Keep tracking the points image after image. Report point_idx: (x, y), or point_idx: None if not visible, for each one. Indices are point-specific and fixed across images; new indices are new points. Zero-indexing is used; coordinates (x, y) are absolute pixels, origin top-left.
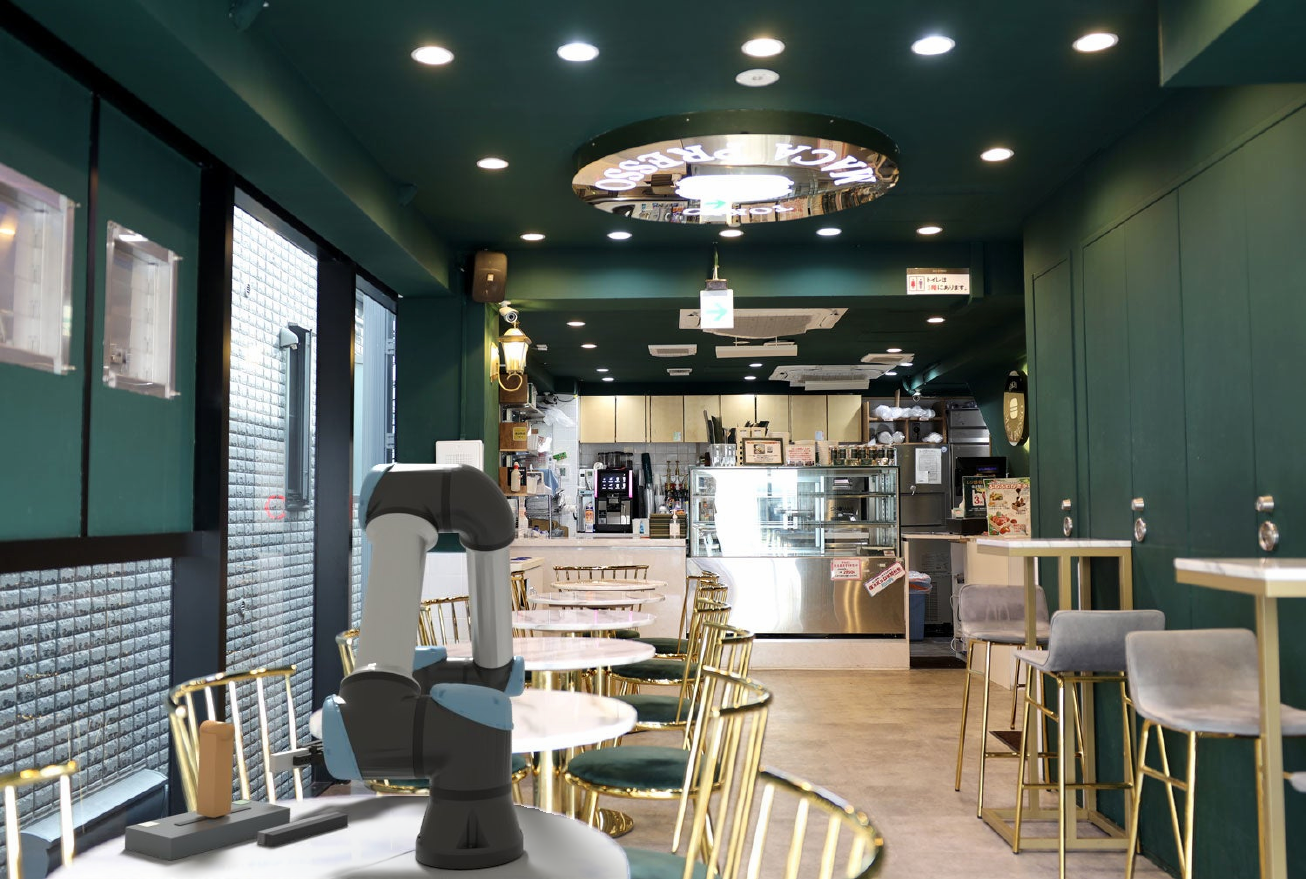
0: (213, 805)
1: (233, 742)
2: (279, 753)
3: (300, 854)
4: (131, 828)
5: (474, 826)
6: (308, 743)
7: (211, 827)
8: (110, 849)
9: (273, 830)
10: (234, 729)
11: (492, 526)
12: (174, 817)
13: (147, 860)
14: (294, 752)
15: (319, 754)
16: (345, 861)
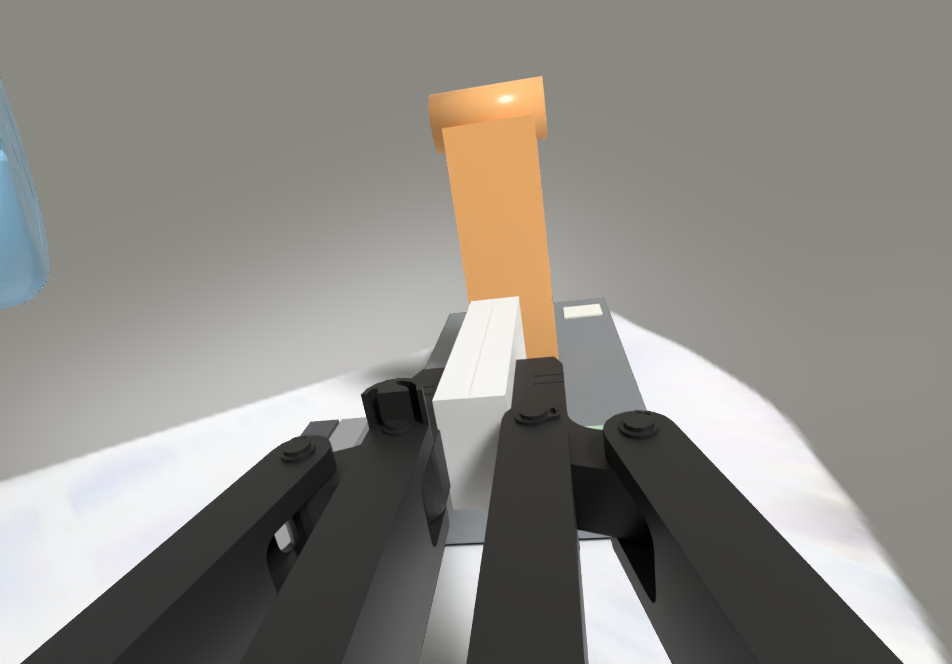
0: None
1: (448, 167)
2: (498, 314)
3: (219, 458)
4: (583, 300)
5: None
6: (723, 516)
7: (439, 348)
8: (634, 333)
9: (334, 436)
10: (430, 120)
11: None
12: (600, 336)
13: None
14: (455, 350)
15: (341, 454)
16: (81, 478)
